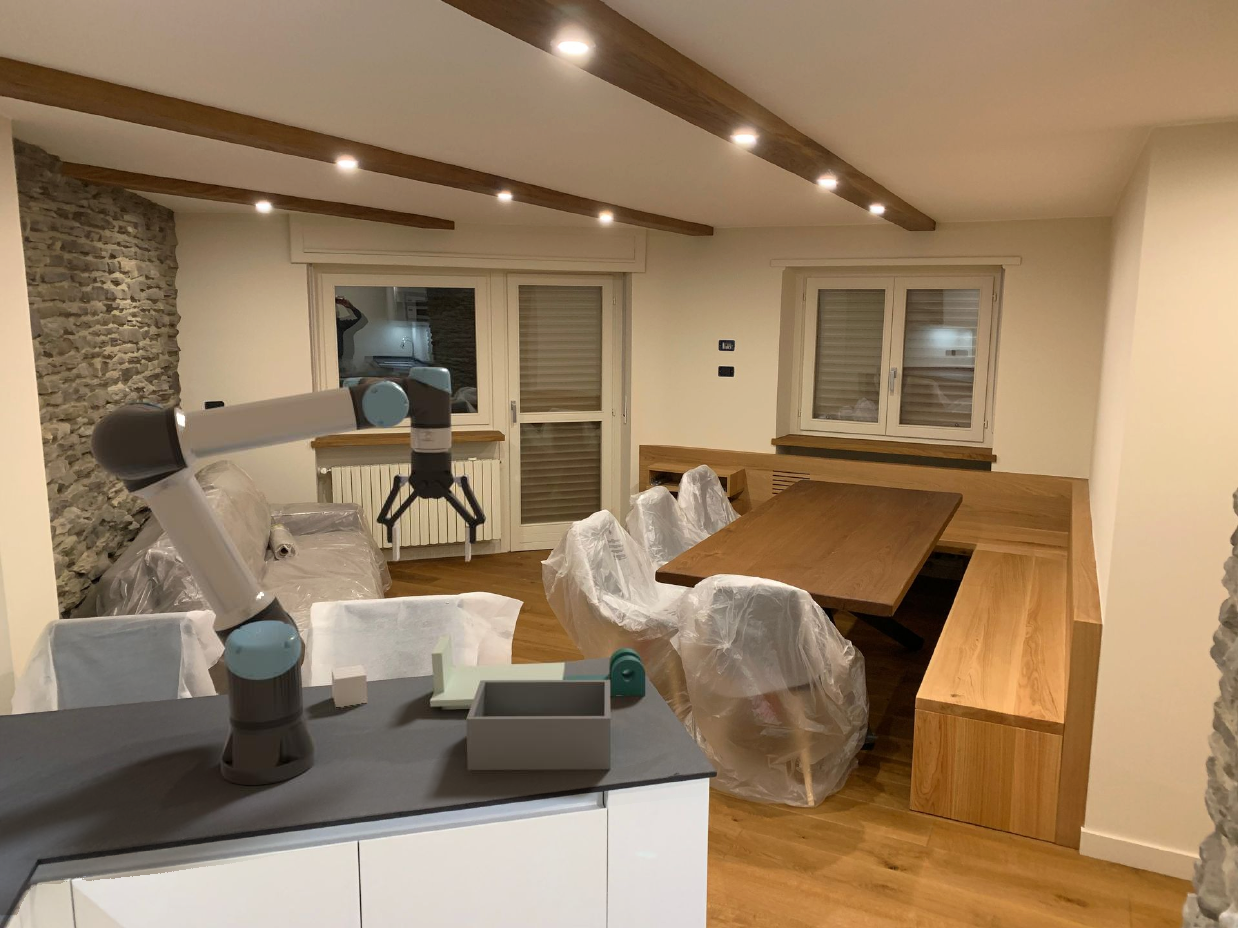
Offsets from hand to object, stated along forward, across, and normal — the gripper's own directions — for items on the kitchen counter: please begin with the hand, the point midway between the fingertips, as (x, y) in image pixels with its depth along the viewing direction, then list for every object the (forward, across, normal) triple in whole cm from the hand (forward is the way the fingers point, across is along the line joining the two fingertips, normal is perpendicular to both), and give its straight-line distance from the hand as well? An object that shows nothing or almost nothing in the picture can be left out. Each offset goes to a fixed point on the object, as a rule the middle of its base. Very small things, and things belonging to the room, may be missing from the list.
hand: (432, 559), depth 172 cm
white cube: (+30, -17, +5) cm, 35 cm away
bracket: (+30, +33, +7) cm, 45 cm away
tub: (+29, +22, -18) cm, 41 cm away
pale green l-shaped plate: (+29, +13, +6) cm, 32 cm away
